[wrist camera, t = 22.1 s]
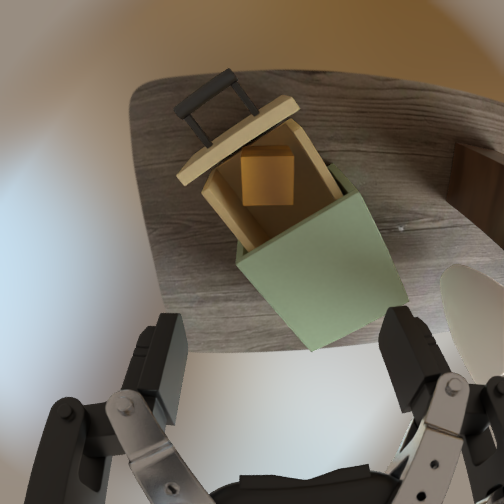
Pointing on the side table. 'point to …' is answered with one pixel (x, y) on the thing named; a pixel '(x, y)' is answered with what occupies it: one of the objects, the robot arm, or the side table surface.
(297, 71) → the side table surface
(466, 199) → the stand
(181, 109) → the drawer
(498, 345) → the cup
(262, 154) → the block
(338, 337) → the cabinet
